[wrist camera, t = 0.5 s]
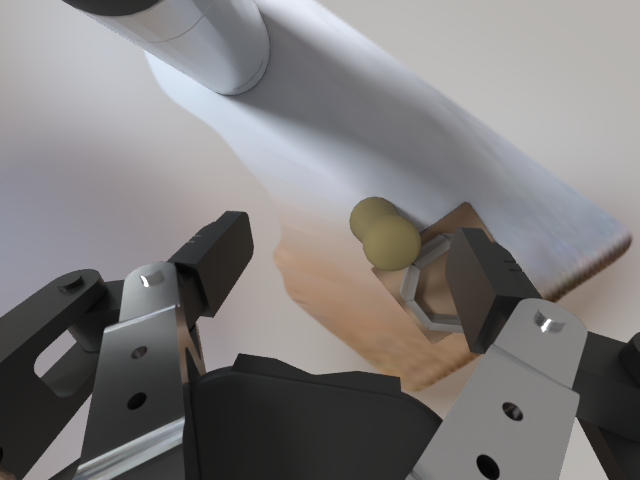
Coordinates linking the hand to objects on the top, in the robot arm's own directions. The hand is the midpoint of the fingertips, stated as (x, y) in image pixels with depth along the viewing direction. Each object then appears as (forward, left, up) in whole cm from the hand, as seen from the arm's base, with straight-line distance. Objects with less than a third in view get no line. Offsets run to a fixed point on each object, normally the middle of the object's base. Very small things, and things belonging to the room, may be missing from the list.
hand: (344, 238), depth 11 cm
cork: (+7, +1, -23) cm, 24 cm away
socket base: (+19, +4, -23) cm, 30 cm away
